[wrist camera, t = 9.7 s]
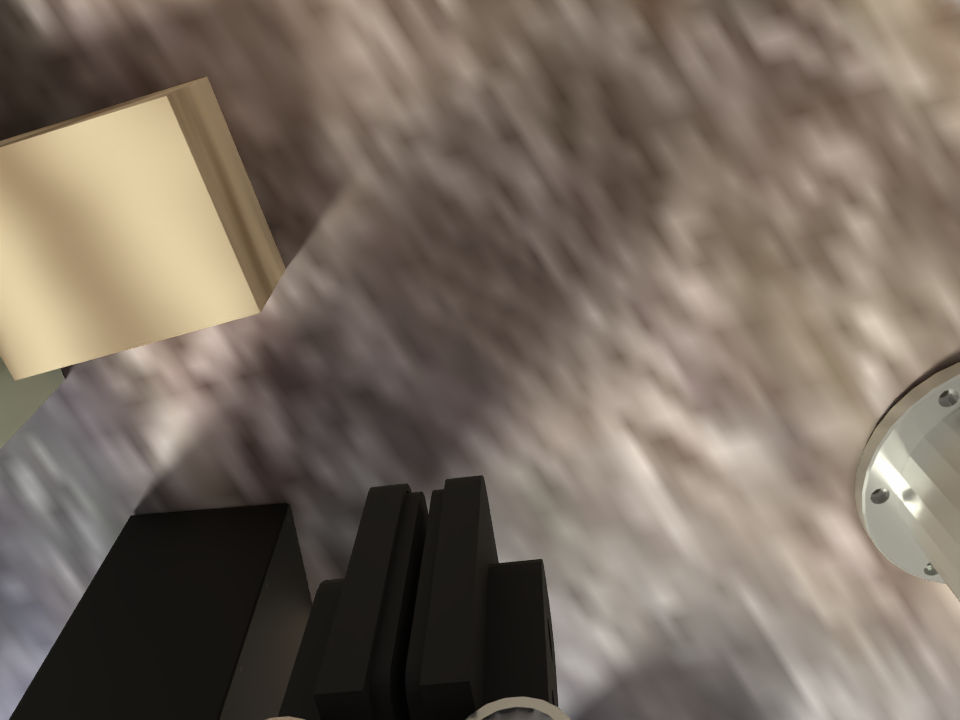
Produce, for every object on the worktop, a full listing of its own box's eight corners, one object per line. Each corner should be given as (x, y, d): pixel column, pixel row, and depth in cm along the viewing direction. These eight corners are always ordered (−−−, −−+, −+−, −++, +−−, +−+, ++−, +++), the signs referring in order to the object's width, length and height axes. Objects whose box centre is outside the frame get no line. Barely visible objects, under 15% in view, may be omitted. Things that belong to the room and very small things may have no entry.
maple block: (208, 75, 32) (166, 95, 28) (286, 267, 36) (260, 313, 31) (-27, 148, 33) (-105, 179, 29) (70, 327, 37) (14, 380, 32)
